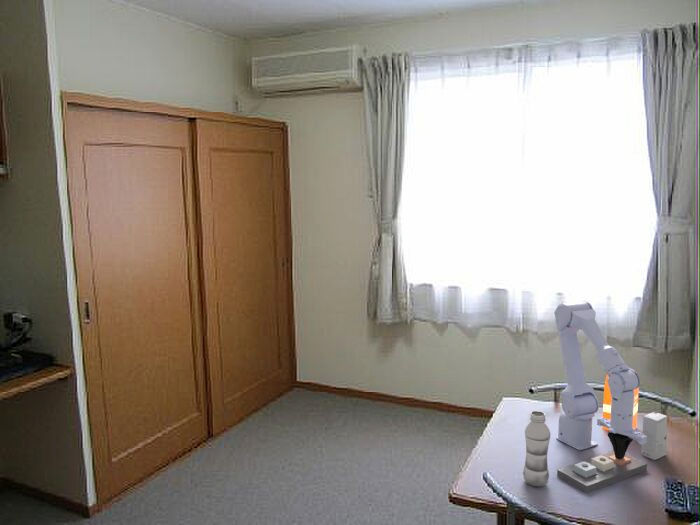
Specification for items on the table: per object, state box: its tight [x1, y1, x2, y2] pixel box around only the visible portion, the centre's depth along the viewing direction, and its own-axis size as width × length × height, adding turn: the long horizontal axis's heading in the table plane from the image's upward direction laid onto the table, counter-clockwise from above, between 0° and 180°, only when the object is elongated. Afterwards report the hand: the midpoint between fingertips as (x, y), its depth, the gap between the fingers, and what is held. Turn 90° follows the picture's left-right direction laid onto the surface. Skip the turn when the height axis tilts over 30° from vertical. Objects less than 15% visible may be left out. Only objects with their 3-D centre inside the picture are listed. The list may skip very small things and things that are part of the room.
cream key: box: [591, 454, 614, 471], centre depth 161 cm, size 4×4×2 cm
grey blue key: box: [573, 460, 596, 478], centre depth 158 cm, size 4×4×2 cm
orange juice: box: [601, 374, 640, 431], centre depth 188 cm, size 8×9×20 cm
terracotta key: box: [609, 455, 631, 466], centre depth 164 cm, size 4×4×2 cm
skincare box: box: [641, 411, 668, 461], centre depth 170 cm, size 6×4×12 cm
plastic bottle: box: [522, 410, 551, 488], centre depth 155 cm, size 6×7×20 cm
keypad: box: [556, 449, 648, 494], centre depth 161 cm, size 10×24×2 cm, turn 117°
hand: (619, 457), depth 164 cm, fingers closed, pressing on terracotta key
